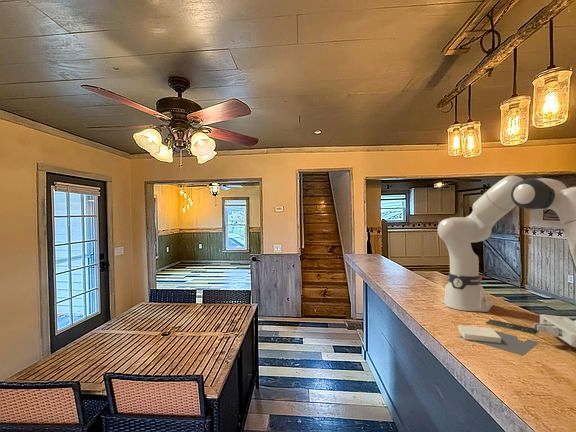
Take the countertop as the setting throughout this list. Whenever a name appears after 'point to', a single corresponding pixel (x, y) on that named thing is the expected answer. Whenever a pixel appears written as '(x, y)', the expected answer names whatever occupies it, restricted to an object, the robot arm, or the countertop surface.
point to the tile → (479, 334)
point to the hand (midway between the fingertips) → (535, 327)
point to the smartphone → (512, 326)
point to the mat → (511, 344)
